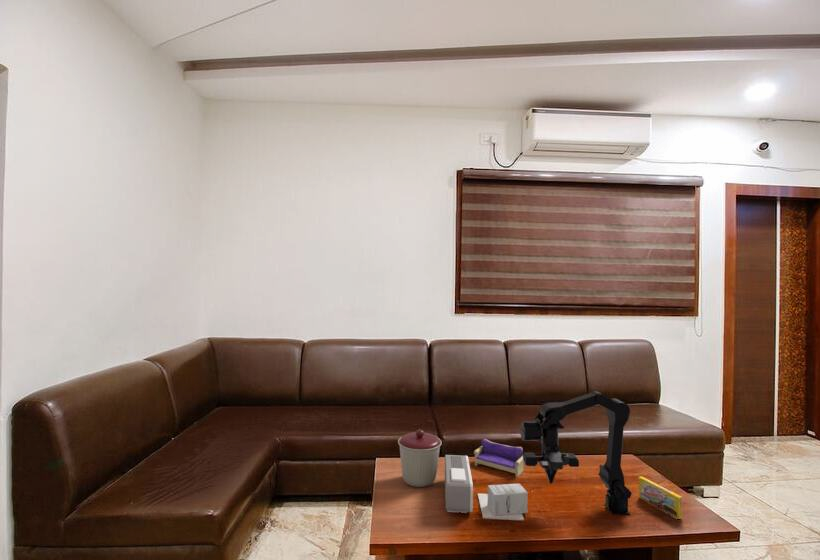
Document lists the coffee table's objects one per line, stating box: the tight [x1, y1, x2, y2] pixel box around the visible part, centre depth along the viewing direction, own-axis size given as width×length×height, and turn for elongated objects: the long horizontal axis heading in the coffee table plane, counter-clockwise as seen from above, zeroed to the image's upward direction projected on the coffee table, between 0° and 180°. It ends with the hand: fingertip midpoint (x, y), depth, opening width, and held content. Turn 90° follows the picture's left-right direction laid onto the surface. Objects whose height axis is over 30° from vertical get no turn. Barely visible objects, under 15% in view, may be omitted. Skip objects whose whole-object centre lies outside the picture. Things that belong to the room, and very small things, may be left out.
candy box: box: [638, 475, 683, 520], centre depth 150 cm, size 16×2×8 cm, turn 20°
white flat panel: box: [477, 492, 525, 521], centre depth 148 cm, size 14×16×1 cm
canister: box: [397, 429, 443, 488], centre depth 167 cm, size 18×18×21 cm
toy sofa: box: [473, 438, 524, 478], centre depth 181 cm, size 21×9×10 cm, turn 56°
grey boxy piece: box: [444, 454, 474, 514], centre depth 155 cm, size 27×9×12 cm, turn 176°
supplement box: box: [487, 483, 529, 515], centre depth 146 cm, size 7×7×13 cm
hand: (550, 483), depth 148 cm, fingers closed
